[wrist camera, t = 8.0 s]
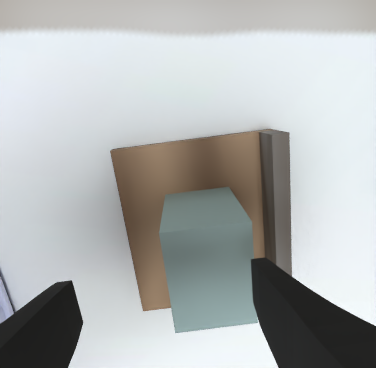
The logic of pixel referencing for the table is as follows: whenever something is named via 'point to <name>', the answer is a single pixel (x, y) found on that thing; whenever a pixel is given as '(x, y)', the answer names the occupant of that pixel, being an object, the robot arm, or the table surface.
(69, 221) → the table surface
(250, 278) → the carton
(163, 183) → the shelf board
